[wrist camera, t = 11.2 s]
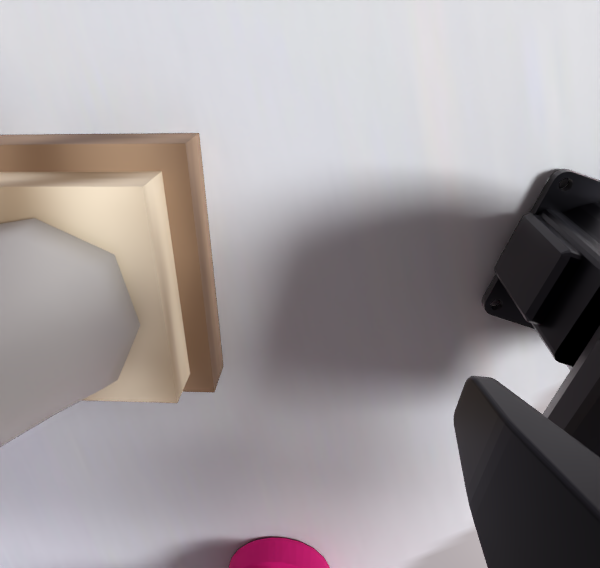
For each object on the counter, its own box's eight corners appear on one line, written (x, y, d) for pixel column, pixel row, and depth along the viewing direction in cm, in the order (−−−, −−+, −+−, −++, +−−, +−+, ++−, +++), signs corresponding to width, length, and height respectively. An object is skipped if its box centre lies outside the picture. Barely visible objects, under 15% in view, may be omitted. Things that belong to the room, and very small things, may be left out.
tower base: (199, 133, 20) (168, 155, 16) (223, 366, 25) (204, 422, 21) (-70, 135, 21) (-155, 157, 17) (5, 361, 26) (-49, 415, 22)
